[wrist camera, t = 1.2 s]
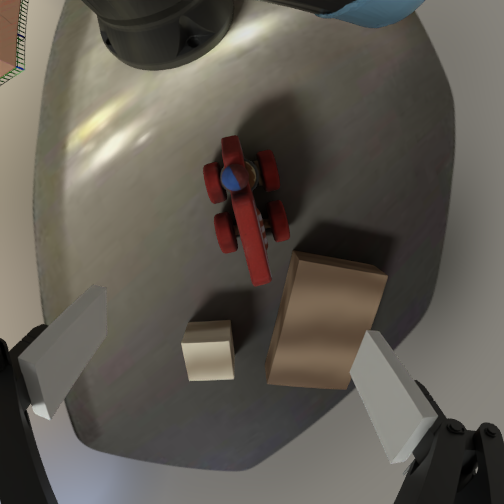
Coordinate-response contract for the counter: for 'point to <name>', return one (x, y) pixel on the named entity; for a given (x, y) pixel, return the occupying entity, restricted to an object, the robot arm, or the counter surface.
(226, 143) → the toy fire truck
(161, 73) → the counter surface
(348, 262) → the plinth
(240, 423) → the counter surface
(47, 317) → the counter surface
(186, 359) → the birch block
